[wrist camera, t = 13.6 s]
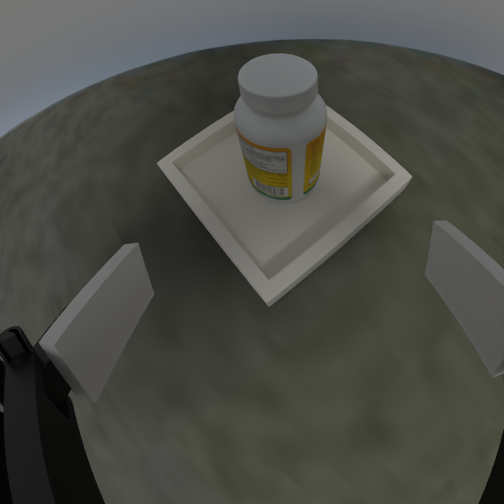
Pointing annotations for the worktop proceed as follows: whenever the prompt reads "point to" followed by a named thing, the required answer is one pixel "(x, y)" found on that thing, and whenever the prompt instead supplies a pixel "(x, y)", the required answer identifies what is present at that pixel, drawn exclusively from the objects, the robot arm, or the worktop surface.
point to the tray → (283, 214)
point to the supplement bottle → (280, 126)
